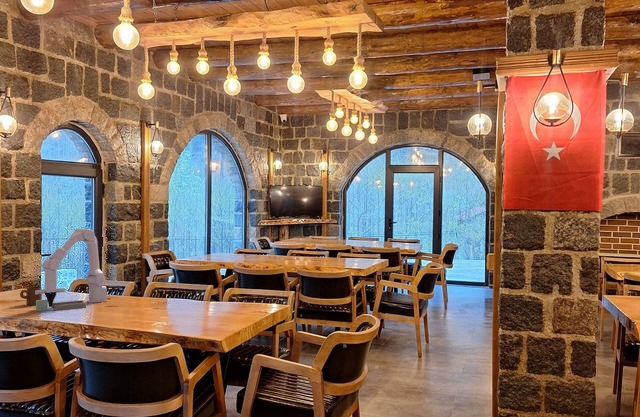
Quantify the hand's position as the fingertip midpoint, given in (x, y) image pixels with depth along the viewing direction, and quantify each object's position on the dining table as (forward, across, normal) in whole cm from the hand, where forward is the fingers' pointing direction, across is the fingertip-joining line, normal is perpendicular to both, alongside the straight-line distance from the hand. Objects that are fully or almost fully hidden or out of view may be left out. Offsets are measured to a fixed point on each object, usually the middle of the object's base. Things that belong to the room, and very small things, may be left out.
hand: (50, 306), depth 289 cm
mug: (+2, +8, -18) cm, 20 cm away
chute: (+1, -8, 0) cm, 9 cm away
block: (+1, +4, 0) cm, 4 cm away
